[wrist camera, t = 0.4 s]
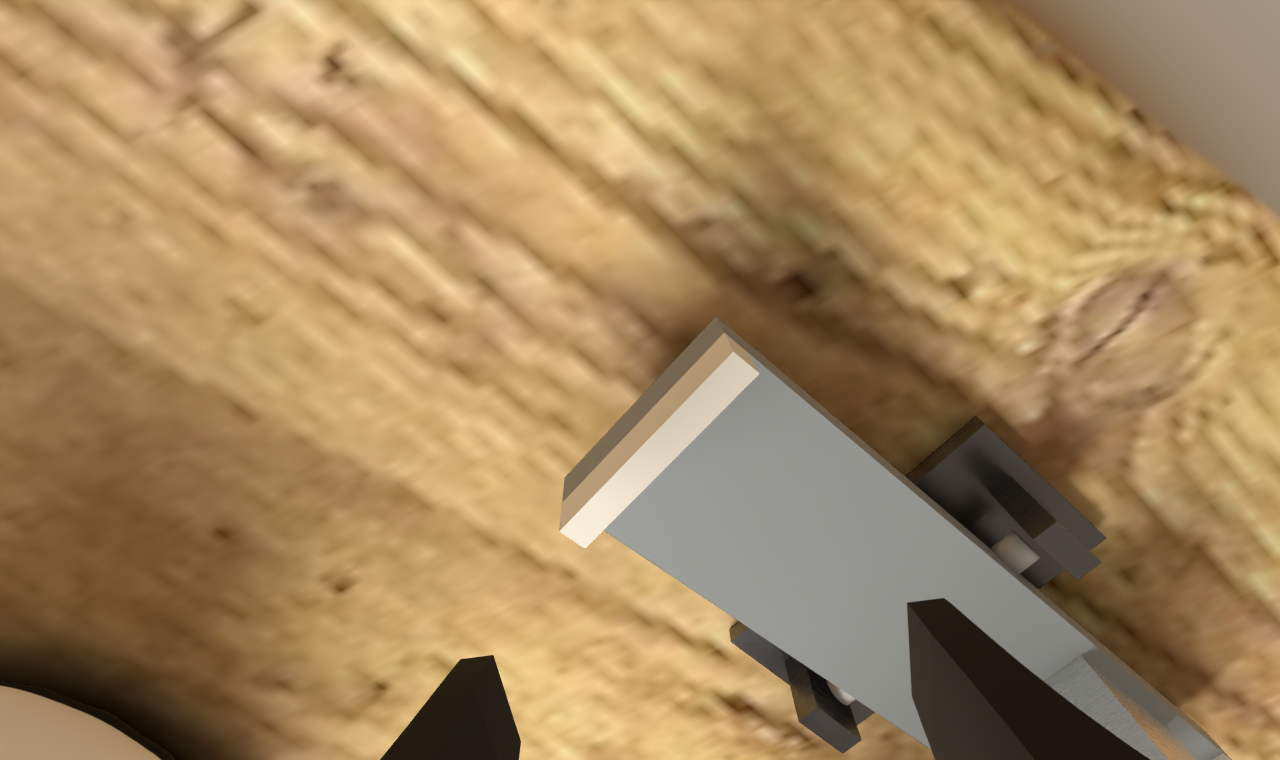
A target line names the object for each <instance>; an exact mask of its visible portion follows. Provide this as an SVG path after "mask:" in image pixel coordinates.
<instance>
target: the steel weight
mask: <svg viewBox="0 0 1280 760" xmlns="http://www.w3.org/2000/svg"><path fill="white" fill-rule="evenodd" d="M1044 682H1045V683H1047V684H1048V685H1049V686H1050V687H1052V688H1053V689H1054V690H1055V691H1057V692H1058V693H1059V694H1060V695H1062V696H1063V697H1064V698H1065V699H1067V700H1068V701H1069V702H1071V703H1072V704H1073V705H1075V706H1076V707H1077V708H1079V709H1080V710H1081V711H1083V712H1084V713H1085V714H1087V715H1088V716H1089V717H1091V718H1092V719H1094V720H1095V721H1096V722H1098V723H1099V724H1100V725H1102V726H1103V727H1105V728H1106V729H1107V730H1109V731H1110V732H1111V733H1113V734H1114V735H1116V736H1117V737H1118V738H1120V739H1121V740H1123V741H1124V742H1125V743H1127V744H1128V745H1130V746H1131V747H1133V748H1134V749H1136V750H1137V751H1138V752H1140V753H1141V754H1143V755H1144V756H1146V757H1147V758H1149V759H1150V760H1196V759H1195V758H1194V757H1193V755H1192V754H1191V753H1190V752H1189V751H1188V750H1187V749H1186V747H1185V746H1184V745H1183V744H1182V743H1181V742H1180V741H1179V739H1178V738H1177V737H1176V736H1175V735H1174V734H1173V733H1172V731H1171V730H1170V729H1169V728H1168V727H1167V726H1166V725H1165V724H1164V723H1162V722H1161V721H1160V720H1159V719H1158V718H1156V717H1155V716H1154V715H1153V714H1152V713H1150V712H1149V711H1148V710H1147V709H1146V708H1144V707H1143V706H1142V705H1141V704H1139V703H1138V702H1137V701H1136V700H1135V699H1133V698H1132V697H1131V696H1130V695H1129V694H1127V693H1126V692H1125V691H1124V690H1123V689H1121V688H1120V687H1119V686H1118V685H1116V684H1115V683H1114V682H1113V681H1112V680H1110V679H1109V678H1108V677H1107V676H1106V675H1104V674H1103V673H1102V672H1101V671H1100V670H1098V669H1097V668H1096V667H1095V666H1093V665H1092V664H1091V663H1090V662H1089V661H1087V660H1086V659H1085V658H1084V657H1083V656H1081V655H1080V656H1078V657H1077V658H1075V659H1074V660H1073V661H1071V662H1070V663H1068V664H1067V665H1065V666H1064V667H1063V668H1061V669H1060V670H1058V671H1057V672H1055V673H1054V674H1053V675H1051V676H1050V677H1048V678H1047V679H1045V680H1044Z"/></svg>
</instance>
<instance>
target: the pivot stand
mask: <svg viewBox="0 0 1280 760" xmlns="http://www.w3.org/2000/svg"><path fill="white" fill-rule="evenodd" d="M906 478H908V479H909V480H910V481H911V482H912V483H913V484H915V485H916V486H917V487H918V488H919V489H920V490H922V491H923V492H924V493H925V494H926V495H928V496H929V497H930V498H931V499H932V500H933V501H935V502H936V503H937V504H938V505H939V506H940V507H942V508H943V509H944V510H945V511H946V512H948V513H949V514H950V515H951V516H952V517H953V518H955V519H956V520H957V521H958V522H959V523H961V524H962V525H963V526H964V527H965V528H966V529H968V530H969V531H970V532H971V533H972V534H973V535H975V536H976V537H977V538H978V539H979V540H981V541H982V542H983V543H984V544H985V545H986V546H988V547H989V548H990V549H991V550H992V548H991V547H993V546H994V545H995V544H996V543H998V542H999V541H1000V540H1001V539H1003V538H1004V537H1005V536H1007V535H1008V534H1009V533H1010V532H1012V531H1014V532H1015V533H1017V534H1018V535H1019V536H1020V537H1021V538H1022V539H1023V540H1024V541H1025V542H1026V543H1027V544H1028V545H1029V546H1030V547H1031V548H1032V549H1033V550H1034V551H1035V552H1036V553H1037V554H1038V555H1039V556H1040V559H1038V560H1037V561H1036V562H1034V563H1033V564H1032V565H1030V566H1029V567H1028V568H1026V569H1025V570H1024V571H1023V572H1021V573H1020V574H1021V575H1022V576H1023V577H1024V578H1025V579H1026V580H1028V581H1029V582H1030V583H1031V584H1032V585H1033V586H1035V587H1036V588H1037V589H1039V588H1041V587H1042V586H1043V585H1045V584H1046V583H1047V582H1049V581H1050V580H1051V579H1053V578H1054V577H1055V576H1057V575H1058V574H1059V573H1061V572H1062V571H1063V570H1065V569H1066V570H1067V571H1068V572H1069V573H1071V574H1072V575H1073V576H1074V577H1075V578H1076V579H1077V580H1078V579H1080V578H1081V577H1082V576H1084V575H1085V574H1086V573H1088V572H1089V571H1090V570H1092V569H1093V568H1094V567H1096V566H1097V565H1099V564H1100V563H1101V561H1100V560H1099V559H1098V558H1097V557H1096V556H1095V555H1094V554H1093V553H1092V552H1091V551H1090V550H1091V549H1093V548H1094V547H1095V546H1097V545H1098V544H1099V543H1101V542H1102V541H1103V540H1105V539H1106V537H1105V536H1104V535H1103V534H1102V533H1101V532H1099V531H1098V530H1097V529H1096V528H1095V527H1094V526H1093V525H1092V524H1091V523H1090V522H1089V521H1088V520H1087V519H1086V518H1084V517H1083V516H1082V515H1081V514H1080V513H1079V512H1078V511H1077V510H1076V509H1075V508H1074V507H1073V506H1072V505H1071V504H1070V503H1068V502H1067V501H1066V500H1065V499H1064V498H1063V497H1062V496H1061V495H1060V494H1059V493H1058V492H1057V491H1056V490H1055V489H1053V488H1052V487H1051V486H1050V485H1049V484H1048V483H1047V482H1046V481H1045V480H1044V479H1043V478H1042V477H1041V476H1040V475H1039V474H1037V473H1036V472H1035V471H1034V470H1033V469H1032V468H1031V467H1030V466H1029V465H1028V464H1027V463H1026V462H1025V461H1024V460H1022V459H1021V458H1020V457H1019V456H1018V455H1017V454H1016V453H1015V452H1014V451H1013V450H1012V449H1011V448H1010V447H1009V446H1008V445H1006V444H1005V443H1004V442H1003V441H1002V440H1001V439H1000V438H999V437H998V436H997V435H996V434H995V433H994V432H993V431H991V430H990V429H989V428H988V427H987V426H986V425H985V424H984V423H983V422H982V421H981V420H979V419H978V418H977V417H974V418H973V419H972V420H971V421H970V422H969V423H968V424H966V425H965V426H964V427H963V428H962V429H961V430H959V431H958V432H957V433H956V434H955V435H954V436H952V437H951V438H950V439H949V440H948V441H947V442H946V443H944V444H943V445H942V446H941V447H940V448H939V449H937V450H936V451H935V452H934V453H933V454H932V455H931V456H929V457H928V458H927V459H926V460H925V461H924V462H922V463H921V464H920V465H919V466H918V467H917V468H916V469H914V470H913V471H912V472H911V473H910V474H909V475H907V476H906ZM992 551H993V550H992ZM993 552H994V551H993ZM729 631H730V638H731V642H732V643H733V644H735V645H736V646H737V647H739V648H740V649H741V650H743V651H744V652H745V653H747V654H748V655H750V656H751V657H752V658H754V659H755V660H756V661H758V662H759V663H760V664H762V665H763V666H764V667H766V668H767V669H769V670H770V671H771V672H773V673H774V674H775V675H777V676H778V677H779V678H781V679H782V680H783V681H785V682H786V683H788V684H789V685H790V687H791V691H792V695H793V699H794V704H795V708H796V712H797V716H798V720H799V722H800V723H801V724H803V725H804V726H805V727H807V728H808V729H809V730H811V731H812V732H814V733H815V734H816V735H818V736H819V737H821V738H822V739H823V740H825V741H826V742H827V743H829V744H830V745H832V746H833V747H834V748H836V749H837V750H839V751H840V752H841V753H844V752H846V751H847V750H848V749H850V748H851V747H853V746H854V745H855V744H857V743H858V742H859V741H861V737H860V734H859V731H858V728H857V725H858V724H859V723H861V722H862V721H863V720H865V719H866V718H867V717H869V716H870V715H871V714H873V713H874V711H872V710H871V709H870V708H868V707H867V706H865V705H864V704H862V703H861V702H859V701H858V700H856V699H855V700H854V701H853V702H851V703H850V704H849V705H844V704H842V703H841V702H840V701H839V700H838V699H837V698H836V697H835V696H834V694H833V693H832V692H831V690H830V688H829V686H828V684H827V680H826V679H825V678H823V677H822V676H820V675H819V674H817V673H816V672H814V671H813V670H811V669H810V668H808V667H807V666H805V665H804V664H802V663H801V662H799V661H798V660H796V659H795V658H793V657H792V656H790V655H789V654H787V653H786V652H784V651H783V650H781V649H780V648H778V647H777V646H775V645H774V644H772V643H771V642H769V641H768V640H766V639H765V638H763V637H762V636H760V635H759V634H757V633H756V632H754V631H753V630H751V629H750V628H748V627H747V626H745V625H744V624H743V623H741V622H740V621H739V622H738V623H737V624H736V625H734V626H733V627H732V628H731V629H730V630H729Z"/></svg>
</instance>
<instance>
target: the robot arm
mask: <svg viewBox="0 0 1280 760" xmlns="http://www.w3.org/2000/svg"><path fill="white" fill-rule="evenodd" d="M907 615H908V634H909V653H910V672H911V691H912V698H913V701H914V704H915V707H916V709H917V712H918V715H919V718H920V720H921V723H922V726H923V729H924V731H925V734H926V737H927V739H928V742H929V745H930V747H931V750H932V752H933V755H934V758H935V760H1150V759H1149V758H1147V757H1146V756H1144V755H1143V754H1141V753H1140V752H1138V751H1137V750H1136V749H1134V748H1133V747H1131V746H1130V745H1128V744H1127V743H1125V742H1124V741H1123V740H1121V739H1120V738H1118V737H1117V736H1116V735H1114V734H1113V733H1111V732H1110V731H1109V730H1107V729H1106V728H1105V727H1103V726H1102V725H1100V724H1099V723H1098V722H1096V721H1095V720H1094V719H1092V718H1091V717H1089V716H1088V715H1087V714H1085V713H1084V712H1083V711H1081V710H1080V709H1079V708H1077V707H1076V706H1075V705H1073V704H1072V703H1071V702H1069V701H1068V700H1067V699H1065V698H1064V697H1063V696H1062V695H1060V694H1059V693H1058V692H1057V691H1055V690H1054V689H1053V688H1052V687H1050V686H1049V685H1048V684H1047V683H1045V682H1044V681H1043V680H1041V679H1040V678H1039V677H1038V676H1036V675H1035V674H1034V673H1033V672H1031V671H1030V670H1029V669H1028V668H1026V667H1025V666H1024V665H1023V664H1021V663H1020V662H1019V661H1018V660H1017V659H1015V658H1014V657H1013V656H1012V655H1011V654H1009V653H1008V652H1007V651H1006V650H1005V649H1004V648H1002V647H1001V646H1000V645H999V644H998V643H996V642H995V641H994V640H993V639H992V638H991V637H989V636H988V635H987V634H986V633H985V632H984V631H982V630H981V629H980V628H979V627H978V626H977V625H976V624H974V623H973V622H972V621H971V620H970V619H969V618H967V617H966V616H965V615H964V614H963V613H962V612H961V611H959V610H958V609H957V608H956V607H955V606H954V605H953V604H951V603H950V602H949V601H948V600H946V599H945V598H939V599H932V600H924V601H916V602H908V603H907ZM520 744H521V741H520V737H519V734H518V731H517V728H516V725H515V722H514V719H513V715H512V712H511V709H510V706H509V703H508V700H507V697H506V693H505V690H504V687H503V684H502V681H501V678H500V675H499V672H498V668H497V665H496V662H495V659H494V656H493V655H491V656H483V657H475V658H467V659H460V661H459V662H458V663H457V664H456V665H455V667H454V668H453V669H452V670H451V672H450V673H449V674H448V675H447V677H446V678H445V679H444V680H443V682H442V683H441V684H440V686H439V687H438V688H437V689H436V691H435V692H434V693H433V694H432V696H431V697H430V698H429V700H428V701H427V702H426V703H425V705H424V706H423V707H422V708H421V710H420V711H419V712H418V714H417V715H416V716H415V717H414V719H413V720H412V721H411V722H410V724H409V725H408V726H407V727H406V729H405V730H404V731H403V732H402V734H401V735H400V736H399V737H398V739H397V740H396V741H395V742H394V743H393V745H392V746H391V747H390V748H389V750H388V751H387V752H386V753H385V755H384V756H383V757H382V758H381V759H380V760H519V753H520Z"/></svg>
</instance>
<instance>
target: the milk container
mask: <svg viewBox="0 0 1280 760" xmlns="http://www.w3.org/2000/svg"><path fill="white" fill-rule="evenodd" d="M0 760H176V759H175V758H174V757H173V756H172V755H171V753H169V752H168V751H166V750H165V749H163V748H162V747H160V746H159V745H157V744H156V743H154V742H153V741H151V740H149V739H148V738H146V737H144V736H143V735H141V734H140V733H138V732H137V731H136V730H134V729H133V728H132V727H130V726H129V725H128V724H127V723H125V722H124V721H122V720H121V719H119V718H118V717H116V716H115V715H113V714H112V713H109V712H107V711H104V710H101V709H99V708H96V707H93V706H90V705H87V704H84V703H81V702H77V701H75V700H73V699H71V698H68V697H66V696H64V695H62V694H59V693H57V692H54V691H52V690H49V689H47V688H44V687H41V686H33V685H25V684H18V683H12V682H5V681H0Z"/></svg>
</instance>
